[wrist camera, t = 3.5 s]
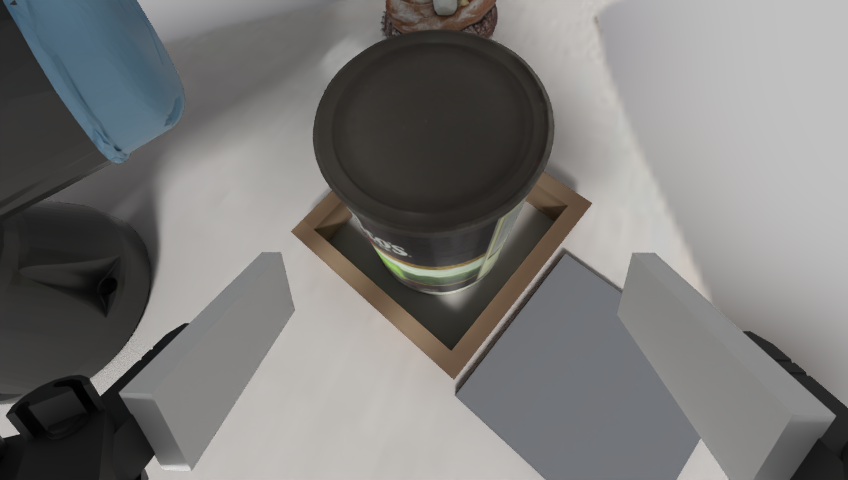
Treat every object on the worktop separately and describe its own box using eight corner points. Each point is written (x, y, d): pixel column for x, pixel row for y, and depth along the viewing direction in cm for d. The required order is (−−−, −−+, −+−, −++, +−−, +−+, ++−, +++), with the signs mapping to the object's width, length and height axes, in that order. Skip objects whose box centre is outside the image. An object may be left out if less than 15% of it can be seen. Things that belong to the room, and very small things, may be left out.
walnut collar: (306, 244, 29) (290, 231, 26) (429, 119, 32) (427, 95, 29) (453, 377, 25) (453, 379, 22) (577, 219, 28) (592, 203, 25)
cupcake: (426, 14, 36) (417, -109, 27) (509, 51, 34) (532, -69, 24) (369, 78, 34) (338, -31, 24) (454, 123, 32) (455, 22, 22)
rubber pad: (455, 395, 24) (455, 395, 24) (563, 255, 27) (565, 253, 26) (625, 552, 21) (630, 557, 20) (730, 375, 24) (737, 375, 23)
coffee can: (420, 323, 26) (389, 284, 13) (353, 216, 29) (273, 96, 16) (532, 248, 27) (610, 142, 14) (456, 154, 30) (461, -6, 17)
